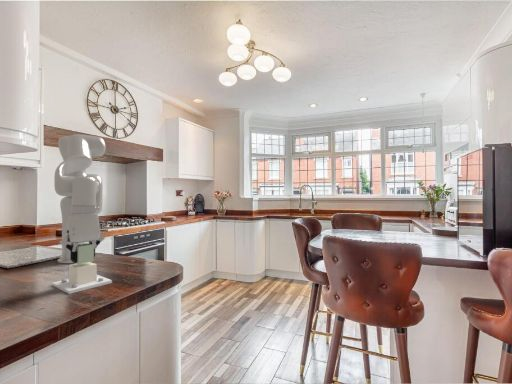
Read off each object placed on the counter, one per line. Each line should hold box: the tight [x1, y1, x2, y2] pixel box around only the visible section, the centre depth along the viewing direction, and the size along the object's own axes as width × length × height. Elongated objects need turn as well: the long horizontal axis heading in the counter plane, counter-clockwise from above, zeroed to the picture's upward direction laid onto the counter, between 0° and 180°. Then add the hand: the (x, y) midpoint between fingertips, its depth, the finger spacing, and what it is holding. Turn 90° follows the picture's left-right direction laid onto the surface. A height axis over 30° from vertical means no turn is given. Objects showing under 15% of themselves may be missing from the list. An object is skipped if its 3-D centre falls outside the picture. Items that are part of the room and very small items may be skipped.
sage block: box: [76, 242, 95, 264], centre depth 99 cm, size 5×5×6 cm
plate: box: [51, 274, 113, 295], centre depth 99 cm, size 14×14×2 cm
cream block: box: [68, 262, 98, 285], centre depth 99 cm, size 6×6×6 cm
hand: (83, 260), depth 99 cm, fingers closed on sage block, 4 cm apart
